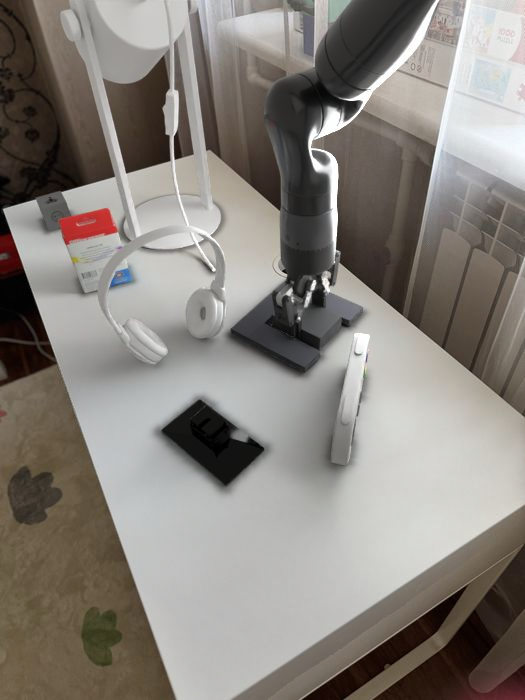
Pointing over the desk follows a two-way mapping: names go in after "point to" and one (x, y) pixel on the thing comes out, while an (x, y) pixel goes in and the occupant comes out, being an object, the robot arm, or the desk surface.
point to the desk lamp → (134, 64)
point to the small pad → (314, 324)
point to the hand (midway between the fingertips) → (306, 323)
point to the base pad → (281, 344)
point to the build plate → (213, 441)
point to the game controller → (350, 400)
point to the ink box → (93, 247)
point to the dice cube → (53, 209)
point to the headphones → (201, 308)
